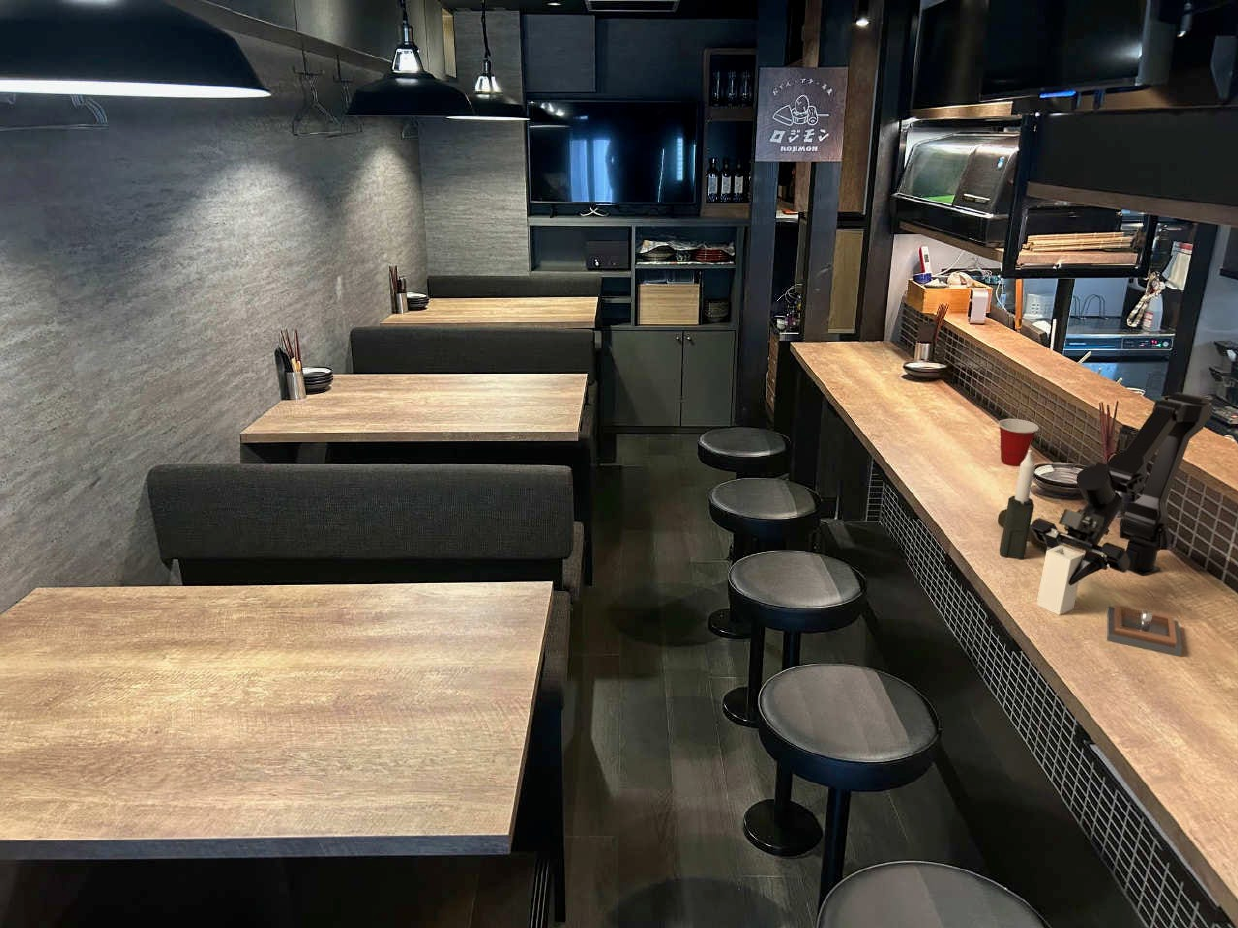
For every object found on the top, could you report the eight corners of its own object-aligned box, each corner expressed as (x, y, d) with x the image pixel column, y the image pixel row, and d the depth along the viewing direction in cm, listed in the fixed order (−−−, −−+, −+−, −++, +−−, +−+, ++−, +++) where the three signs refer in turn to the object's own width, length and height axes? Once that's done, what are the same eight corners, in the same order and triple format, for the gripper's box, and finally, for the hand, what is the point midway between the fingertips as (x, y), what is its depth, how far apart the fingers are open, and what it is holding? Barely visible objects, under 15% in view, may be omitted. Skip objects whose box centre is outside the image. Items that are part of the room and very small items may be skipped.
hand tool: (1060, 555, 210) (1064, 536, 208) (1046, 556, 209) (1049, 537, 207) (1007, 523, 227) (1010, 505, 225) (993, 524, 226) (996, 507, 224)
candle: (1023, 551, 211) (1042, 447, 202) (1024, 560, 206) (1044, 454, 198) (999, 547, 212) (1017, 444, 204) (1000, 556, 208) (1018, 451, 199)
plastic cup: (991, 466, 266) (998, 426, 262) (992, 455, 276) (998, 416, 272) (1032, 471, 263) (1039, 431, 259) (1031, 460, 272) (1038, 421, 268)
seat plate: (1107, 613, 183) (1111, 592, 182) (1176, 627, 178) (1181, 607, 177) (1107, 640, 173) (1111, 619, 172) (1180, 656, 168) (1185, 634, 167)
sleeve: (1050, 598, 189) (1060, 545, 185) (1073, 608, 185) (1084, 554, 181) (1036, 604, 186) (1046, 550, 182) (1059, 614, 182) (1070, 559, 178)
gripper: (1042, 480, 187) (1002, 542, 185) (1135, 510, 173) (1092, 577, 170) (1057, 508, 194) (1018, 568, 192) (1147, 539, 180) (1106, 604, 177)
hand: (1056, 578), depth 182 cm, fingers closed on sleeve, 5 cm apart
